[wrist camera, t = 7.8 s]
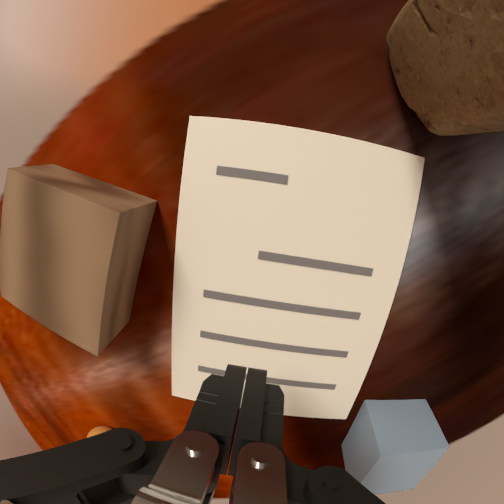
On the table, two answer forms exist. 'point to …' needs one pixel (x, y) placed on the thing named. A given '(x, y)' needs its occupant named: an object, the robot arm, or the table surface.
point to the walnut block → (72, 251)
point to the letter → (287, 258)
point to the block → (451, 63)
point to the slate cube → (393, 444)
